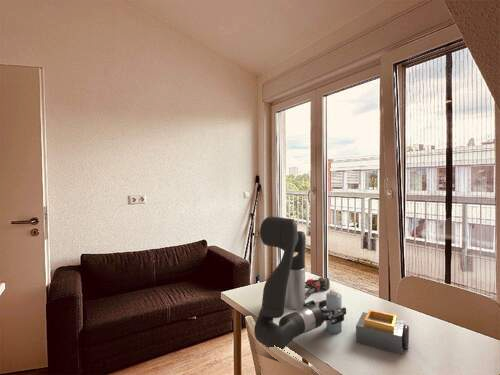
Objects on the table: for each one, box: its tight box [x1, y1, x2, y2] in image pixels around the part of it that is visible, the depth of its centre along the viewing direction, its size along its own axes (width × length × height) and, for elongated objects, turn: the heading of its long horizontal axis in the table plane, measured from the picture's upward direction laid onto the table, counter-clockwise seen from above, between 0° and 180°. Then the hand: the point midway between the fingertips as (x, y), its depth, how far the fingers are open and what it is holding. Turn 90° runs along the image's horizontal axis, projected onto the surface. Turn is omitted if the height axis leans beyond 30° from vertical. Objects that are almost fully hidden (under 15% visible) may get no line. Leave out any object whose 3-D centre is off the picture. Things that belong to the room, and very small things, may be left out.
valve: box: [305, 276, 331, 300], centre depth 150 cm, size 6×26×15 cm
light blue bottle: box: [325, 288, 343, 334], centre depth 110 cm, size 6×6×15 cm
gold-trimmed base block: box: [355, 309, 410, 356], centre depth 102 cm, size 16×12×8 cm
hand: (335, 306), depth 111 cm, fingers open, 8 cm apart
